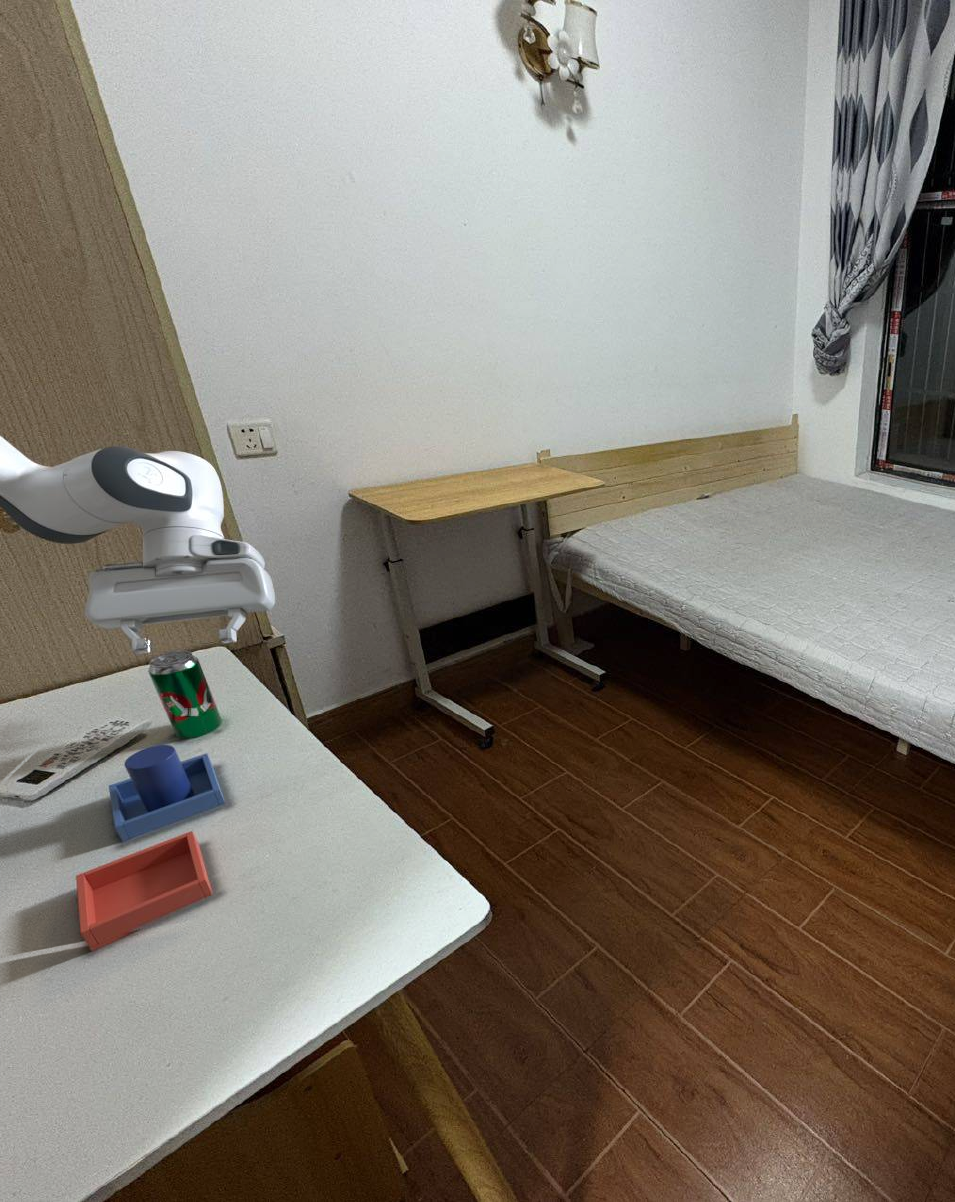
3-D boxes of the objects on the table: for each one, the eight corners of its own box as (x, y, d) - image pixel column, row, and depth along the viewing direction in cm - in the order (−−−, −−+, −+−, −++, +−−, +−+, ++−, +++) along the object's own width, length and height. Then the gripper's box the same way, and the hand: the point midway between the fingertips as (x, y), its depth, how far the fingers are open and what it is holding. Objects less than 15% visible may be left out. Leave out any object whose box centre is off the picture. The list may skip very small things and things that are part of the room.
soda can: (214, 715, 96) (186, 645, 91) (230, 728, 94) (202, 656, 88) (170, 732, 92) (138, 660, 87) (185, 746, 90) (154, 672, 84)
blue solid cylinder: (138, 817, 78) (115, 771, 74) (157, 792, 81) (136, 747, 78) (184, 810, 79) (163, 765, 76) (200, 786, 83) (181, 742, 80)
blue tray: (123, 845, 74) (114, 827, 73) (117, 802, 80) (108, 785, 79) (226, 806, 81) (219, 789, 79) (214, 769, 86) (207, 752, 85)
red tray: (91, 951, 63) (80, 933, 62) (86, 893, 69) (75, 875, 68) (214, 897, 69) (205, 879, 68) (200, 847, 75) (192, 830, 74)
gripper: (75, 556, 89) (72, 653, 85) (261, 542, 97) (265, 629, 93) (103, 574, 94) (100, 665, 91) (277, 559, 103) (281, 642, 99)
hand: (185, 647), depth 92 cm, fingers open, 8 cm apart
